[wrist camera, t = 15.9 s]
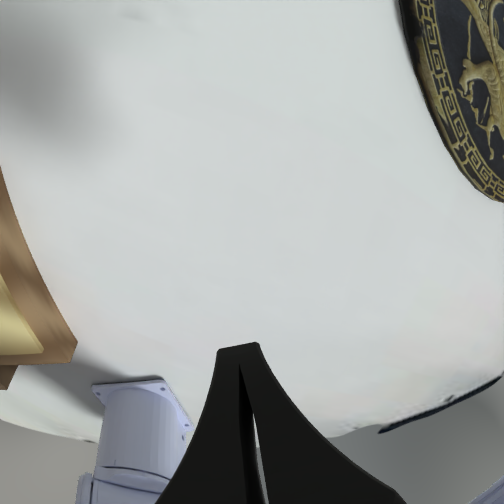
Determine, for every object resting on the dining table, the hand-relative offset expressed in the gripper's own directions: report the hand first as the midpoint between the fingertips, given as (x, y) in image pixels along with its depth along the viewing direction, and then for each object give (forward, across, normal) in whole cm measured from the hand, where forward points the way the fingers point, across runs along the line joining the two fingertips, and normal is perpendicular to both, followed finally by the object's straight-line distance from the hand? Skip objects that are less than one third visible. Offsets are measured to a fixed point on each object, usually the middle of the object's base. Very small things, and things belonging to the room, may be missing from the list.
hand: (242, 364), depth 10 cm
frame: (+11, +19, -1) cm, 22 cm away
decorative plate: (+11, -29, -13) cm, 34 cm away
